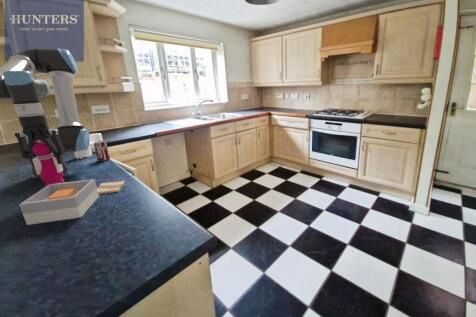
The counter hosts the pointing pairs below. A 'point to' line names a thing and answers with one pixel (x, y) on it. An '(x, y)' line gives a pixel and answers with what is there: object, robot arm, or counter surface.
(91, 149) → the bracket
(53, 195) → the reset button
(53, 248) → the counter surface
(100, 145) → the soda can
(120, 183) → the cork mat
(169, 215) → the counter surface
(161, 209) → the counter surface
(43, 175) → the pepper mill
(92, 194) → the grey open box
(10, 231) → the counter surface
